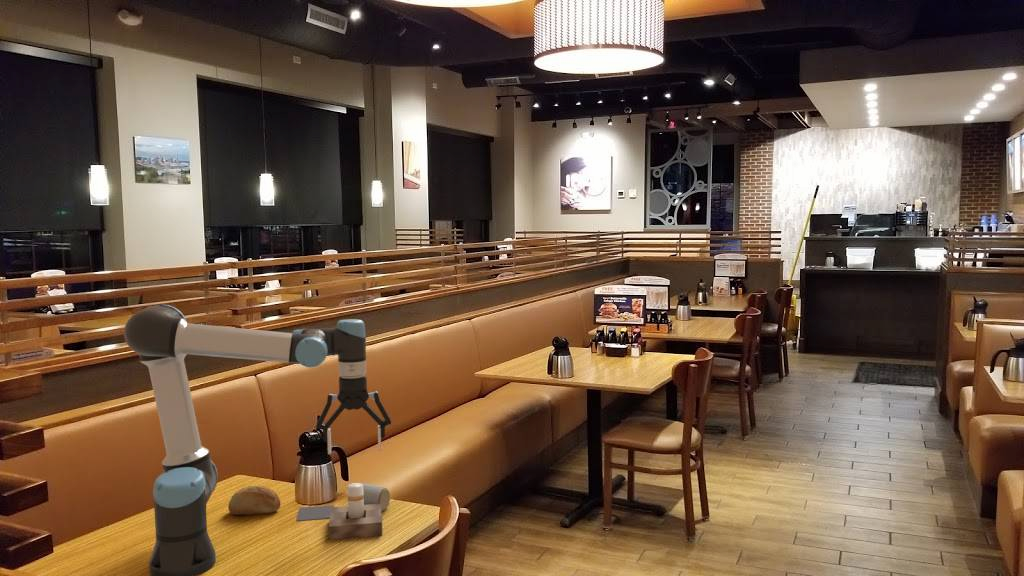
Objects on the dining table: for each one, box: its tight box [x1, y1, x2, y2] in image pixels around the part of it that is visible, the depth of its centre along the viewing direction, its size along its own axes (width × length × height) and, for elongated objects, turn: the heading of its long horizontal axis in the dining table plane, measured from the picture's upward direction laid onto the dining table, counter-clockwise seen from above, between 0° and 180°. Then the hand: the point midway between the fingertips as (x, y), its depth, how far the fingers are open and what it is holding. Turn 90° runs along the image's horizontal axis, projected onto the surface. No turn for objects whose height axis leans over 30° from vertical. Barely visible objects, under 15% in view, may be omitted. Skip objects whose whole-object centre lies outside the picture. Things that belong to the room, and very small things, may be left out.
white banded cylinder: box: [346, 482, 364, 519], centre depth 206 cm, size 4×4×12 cm
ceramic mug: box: [362, 483, 391, 513], centre depth 221 cm, size 11×8×8 cm
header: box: [328, 504, 384, 541], centre depth 206 cm, size 14×14×4 cm
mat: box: [295, 504, 335, 522], centre depth 217 cm, size 10×10×1 cm
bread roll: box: [227, 485, 282, 516], centre depth 218 cm, size 10×15×8 cm, turn 96°
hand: (354, 451), depth 205 cm, fingers open, 13 cm apart
